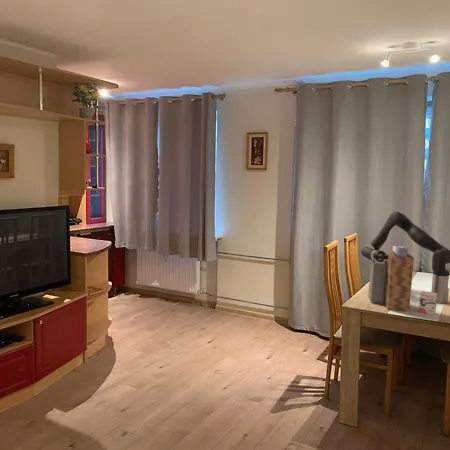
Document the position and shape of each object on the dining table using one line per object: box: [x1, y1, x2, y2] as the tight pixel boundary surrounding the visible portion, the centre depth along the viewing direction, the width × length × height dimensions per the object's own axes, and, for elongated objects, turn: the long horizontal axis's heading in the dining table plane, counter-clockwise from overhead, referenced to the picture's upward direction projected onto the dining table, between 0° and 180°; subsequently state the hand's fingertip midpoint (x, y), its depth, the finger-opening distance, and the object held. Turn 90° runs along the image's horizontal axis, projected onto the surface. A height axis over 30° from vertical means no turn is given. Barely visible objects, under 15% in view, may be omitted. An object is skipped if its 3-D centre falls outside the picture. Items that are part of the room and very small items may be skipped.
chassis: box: [367, 259, 388, 305], centre depth 293 cm, size 10×15×25 cm, turn 170°
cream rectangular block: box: [392, 245, 409, 257], centre depth 281 cm, size 5×22×6 cm, turn 170°
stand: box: [384, 251, 414, 312], centre depth 277 cm, size 12×11×33 cm
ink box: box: [418, 290, 437, 316], centre depth 272 cm, size 8×5×12 cm, turn 56°
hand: (389, 258), depth 301 cm, fingers open, 8 cm apart
